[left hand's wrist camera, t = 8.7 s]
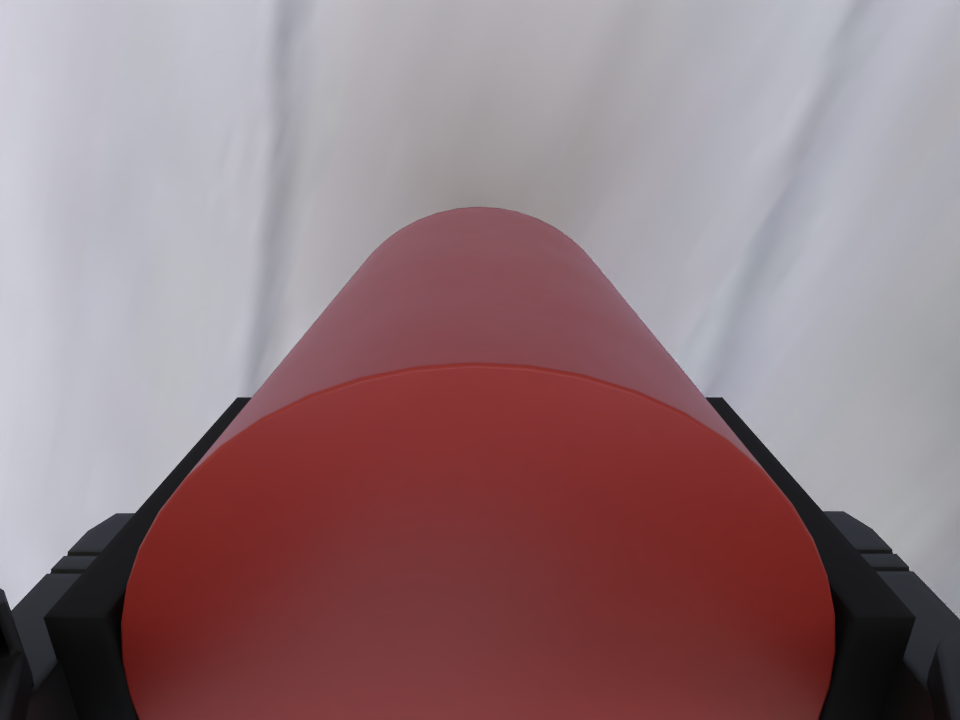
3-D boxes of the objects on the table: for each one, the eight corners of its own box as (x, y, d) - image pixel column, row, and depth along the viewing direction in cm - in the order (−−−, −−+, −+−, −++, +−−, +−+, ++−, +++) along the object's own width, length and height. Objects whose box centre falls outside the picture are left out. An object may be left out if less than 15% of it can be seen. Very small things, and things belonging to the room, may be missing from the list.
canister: (677, 298, 20) (998, 582, 7) (528, 513, 22) (585, 970, 10) (418, 148, 18) (290, 200, 6) (293, 400, 21) (34, 785, 9)
